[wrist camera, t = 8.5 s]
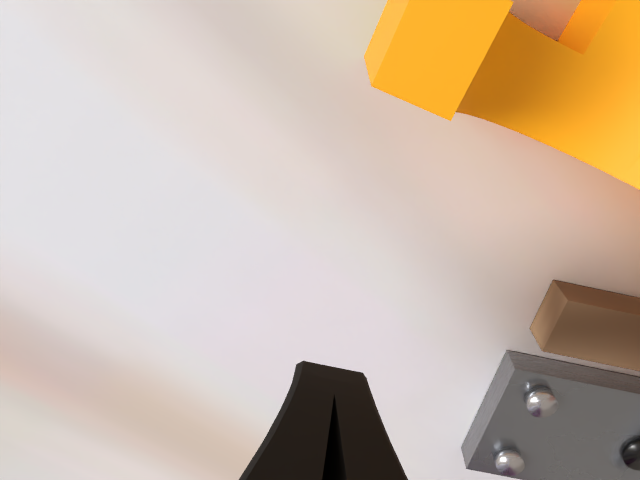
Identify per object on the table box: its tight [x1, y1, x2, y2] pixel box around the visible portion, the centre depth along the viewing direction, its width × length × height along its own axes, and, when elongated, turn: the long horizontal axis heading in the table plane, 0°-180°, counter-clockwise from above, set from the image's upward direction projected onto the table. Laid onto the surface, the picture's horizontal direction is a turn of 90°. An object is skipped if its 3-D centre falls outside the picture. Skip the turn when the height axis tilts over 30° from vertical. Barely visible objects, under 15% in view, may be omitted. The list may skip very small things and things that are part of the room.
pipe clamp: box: [364, 0, 640, 190], centre depth 14 cm, size 12×4×6 cm, turn 68°
